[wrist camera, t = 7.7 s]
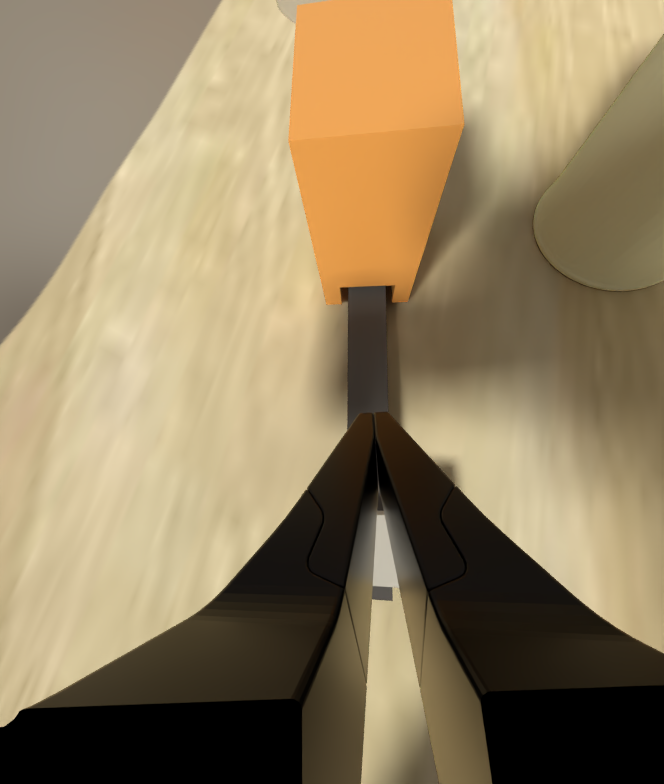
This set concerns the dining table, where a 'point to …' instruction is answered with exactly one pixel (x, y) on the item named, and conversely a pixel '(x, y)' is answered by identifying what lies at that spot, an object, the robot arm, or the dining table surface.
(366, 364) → the toy mallet
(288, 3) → the lumpy-topped squat cylinder
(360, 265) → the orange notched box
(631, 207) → the can
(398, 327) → the dining table surface
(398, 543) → the robot arm
